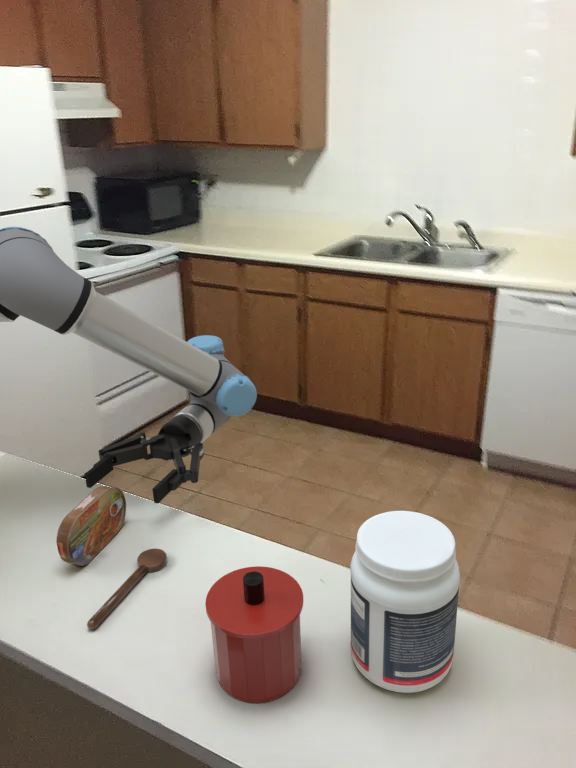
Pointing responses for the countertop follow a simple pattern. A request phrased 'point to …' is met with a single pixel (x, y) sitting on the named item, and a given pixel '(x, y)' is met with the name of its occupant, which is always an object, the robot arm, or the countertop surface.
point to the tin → (91, 525)
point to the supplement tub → (404, 601)
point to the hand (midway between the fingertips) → (120, 488)
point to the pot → (258, 664)
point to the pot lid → (254, 602)
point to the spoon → (130, 582)
